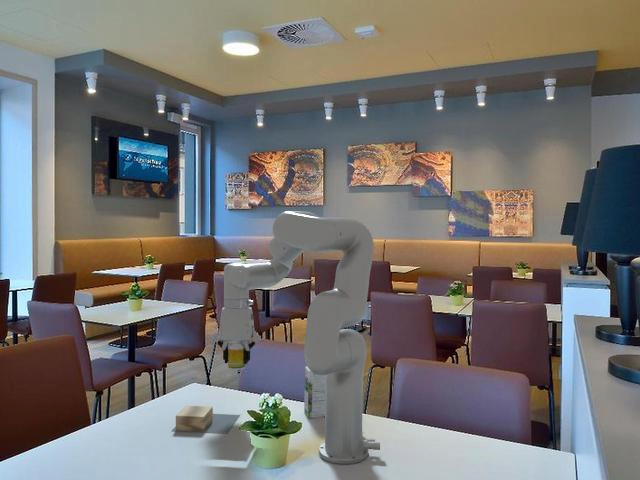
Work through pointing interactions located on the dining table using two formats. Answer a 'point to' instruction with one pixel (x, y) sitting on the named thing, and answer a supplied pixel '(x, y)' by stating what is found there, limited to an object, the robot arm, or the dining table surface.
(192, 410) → the oak block
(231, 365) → the supplement bottle
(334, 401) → the robot arm
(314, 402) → the syrup box
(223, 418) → the mat
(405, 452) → the dining table surface
